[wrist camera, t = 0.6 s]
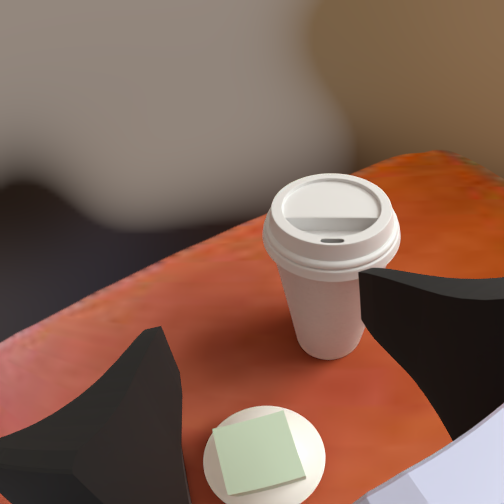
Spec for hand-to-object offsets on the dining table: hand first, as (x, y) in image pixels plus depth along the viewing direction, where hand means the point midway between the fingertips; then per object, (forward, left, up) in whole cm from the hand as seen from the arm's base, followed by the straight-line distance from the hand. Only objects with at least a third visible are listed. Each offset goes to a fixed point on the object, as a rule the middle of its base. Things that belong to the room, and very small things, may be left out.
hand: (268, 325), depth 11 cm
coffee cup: (+9, -6, -18) cm, 21 cm away
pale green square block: (-2, +3, -15) cm, 15 cm away
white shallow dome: (-2, +3, -18) cm, 18 cm away
